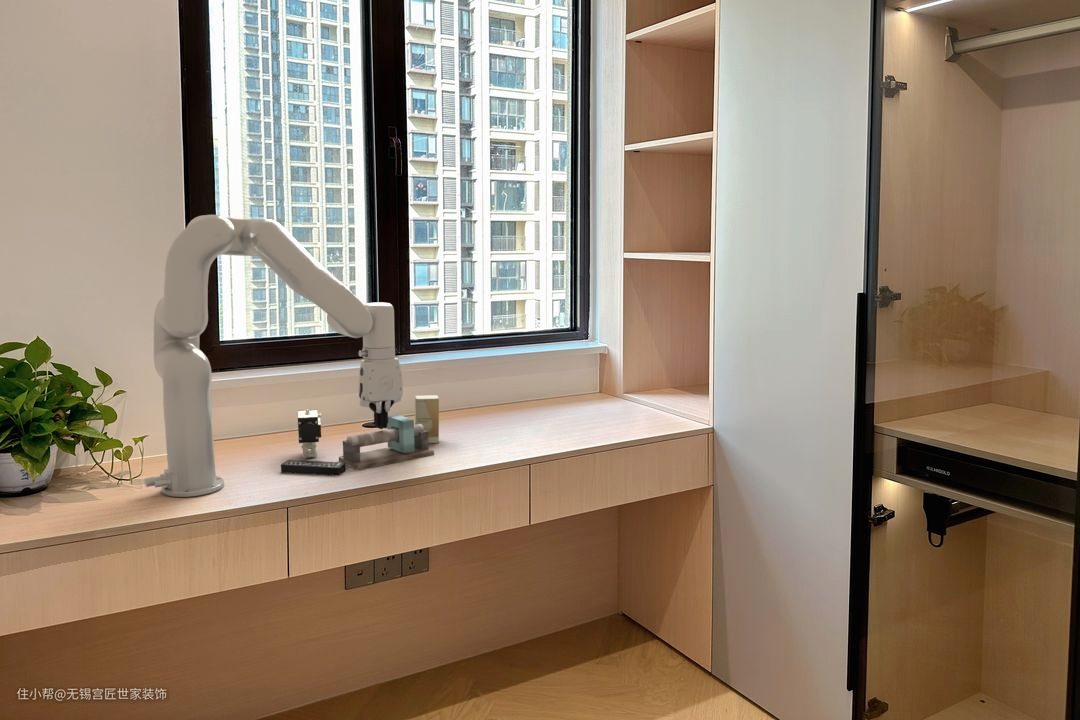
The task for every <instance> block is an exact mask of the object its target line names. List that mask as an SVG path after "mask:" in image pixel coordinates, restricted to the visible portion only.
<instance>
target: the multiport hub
mask: <svg viewBox="0 0 1080 720" xmlns="http://www.w3.org/2000/svg"><path fill="white" fill-rule="evenodd" d="M346 471H347V464H346V463H344V462H340V461H325V460H324V461H323V460H321V461H320V460H306V459H304V460H301V459H300V460H298V459H287V460H286V461H285V462H283V463H281V464H280V473H282V474H299V475H301V474H302V475H318V476H319V475H321V476H335V475H337V476H338V475H339V476H341V475H342V474H344V473H346Z"/></svg>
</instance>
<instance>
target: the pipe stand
mask: <svg viewBox="0 0 1080 720" xmlns="http://www.w3.org/2000/svg"><path fill="white" fill-rule="evenodd" d="M396 440H399V428H395V429H389V430H387V429H384V430H383V429H382V430H379V431H373V432H366V433H361V434H355V435H350V436H347V437H346V440H343V441H342V456H341V455H340V456H338V462H344V463H346V466H349V467H351V468H353V469H355V470H358V471H359V470H364V469H370V468H375V467H379V466H385V465H389V464H394V463H399V462H405V461H408V460H413V459H414V460H415V459H419V458H424V457H429V456H434V455H435V451H434V450H433V449H431V448H430V446H429V443H428V431H426V430H424V427H423V425H422V424H418V425H415V424H414V452H409V453H402V452H399V451H397V450H394V449H392V448H390V447H388V446H387V447H383V448H378V449H373V450H368V451H363V452H361V448H362V447H368V446H375V445H380V444H384V443H388V442H391V441H396Z"/></svg>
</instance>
